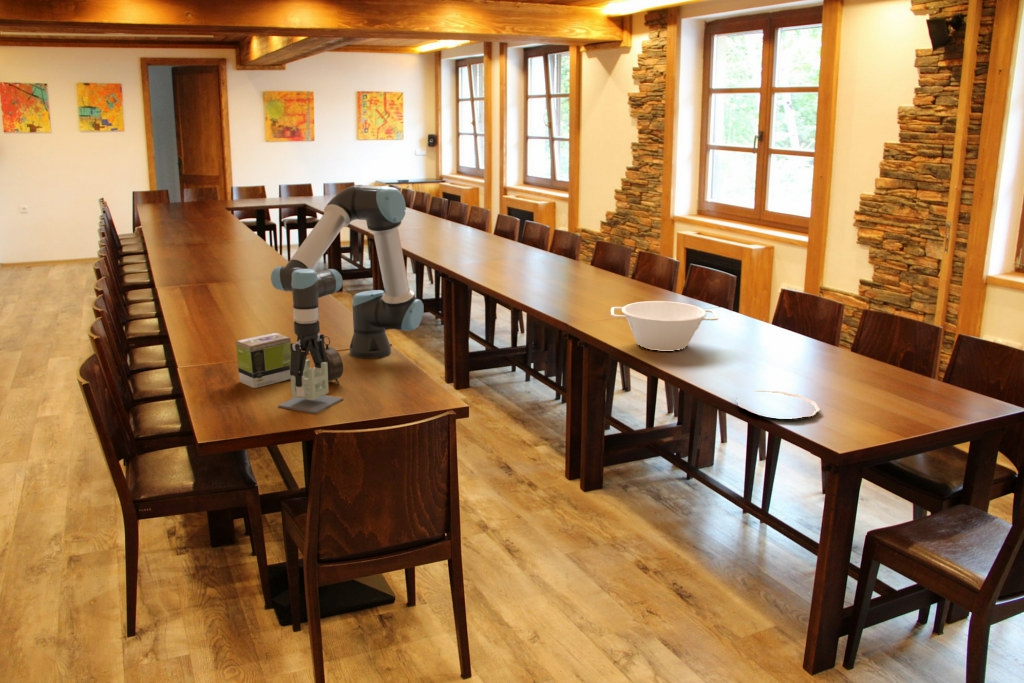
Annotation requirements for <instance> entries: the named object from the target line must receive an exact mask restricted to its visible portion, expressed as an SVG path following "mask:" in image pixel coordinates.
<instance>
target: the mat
mask: <svg viewBox="0 0 1024 683" xmlns="http://www.w3.org/2000/svg"><path fill="white" fill-rule="evenodd" d="M342 401H344V399H343V397H339V396H334V395H333V396H332V395H327V394H325V395H323V396H321V397H319V398H317V399H315V400H309V399H303V398H298V397H291V399H289V400H286V401H284V402H282V403H280V404H278V406H277V407H278V408H281V409H286V410H287V409H288V410H292V411H293V410H294V411H296V412H297V411H298V412H303V413H307V414H308V413H309V414H314V415H317V414H319V413H320V412H321V413H322V412H323V411H325V410H326V409H328V408H330V407H332V406H334V405H336V404H338V403H340V402H342Z"/></svg>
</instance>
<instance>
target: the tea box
mask: <svg viewBox="0 0 1024 683" xmlns="http://www.w3.org/2000/svg"><path fill="white" fill-rule="evenodd" d="M291 341H292V340H291V337H288V336H287V335H283V334H280V333H278V332H275V331H274V332H272V333H271V332H270V333H266V334H262V335H261V334H260V335H257V336H250V337H246V338H242V339H239V340H235V346H236V347H235V349H236V357H237V368H238V377H239V378H238V379H239V382H240V383H241V384H244V385H246V386H248V387H250V388H252V389H256V388H261V387H264V386H267V385H268V386H269V385H272V384H277V383H280V382H285V381H288V380H291V375H290V365H291V347H290V344H291V343H292V342H291Z"/></svg>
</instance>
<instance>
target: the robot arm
mask: <svg viewBox="0 0 1024 683" xmlns="http://www.w3.org/2000/svg"><path fill="white" fill-rule="evenodd" d="M406 210H407V206H406V200H405V197H404V195H403V193H402V192H401V191H400V190H399V189H398V188H396V187H393V186H387V185H364V184H354V185H351V186H348V187H346V188H344V189H342V190H341V191H340V192H338V193H337V194H336V195H334V196H333V197H332V198H330V201H329V202H328V203H327V204H326V206H325V207H324V209H323V215H322V216H321V218H320V219H319V221H317V222H316V224H315V226H314V227H313V228H312V230H311V231H310V232H309V234H308V235H307V236H306V238H305V239H304V240H303V242H302V243H301V244H300V246H299V247H298V248H297V250H296V251H295V253H294V254H293V255H292V256H291V258H290V259H289V261H288V262H287V263H286V265H281V266H279V265H278V266H276V267H274V269H273V270H272V271H271V274H270V282H271V285H272V286H273V288H274V289H275V290H279V291H283V292H292V295H291V296H292V303H293V304H292V308H293V309H292V310H293V320H294V323H293V330H294V334H295V335H296V336H297V338H296V342H295V343H293V342H291V344H290V347H291V365H290V375H291V376H295V380H296V387H297V396H301V397H305V396H306V391H305V376H303V371H304V367H305V362H306V359H307V357H308V355H309V354H310V356H311V358H312V361H313V365H314V367H313V368H314V370H315V371H316V372H321V363H322V362H327V359H326V353H325V348H326V345H325V344H324V342H325V338H324V337H325V335H324V334H321V333H320V331H321V330H320V321H319V319H320V308H319V299H320V298H323V297H325V296H329V295H333V294H335V293H336V292H338V291H340V290H341V289H342V287H343V284H344V282H343V277H342V275H341V273H340V272H339V271H338V270H337V269H335V268H329V269H327V268H326V269H324V270H318V269H317V270H316V269H315V267H316V265H318V263H319V262H320V260H321V258H322V257H323V256H324V254H325V253H326V252H327V250H328V249H329V248H330V246H331V245H332V243H333V242H334V241H335V239H336V238H337V236H338V235H339V233H341V231H342V229H343V228H346V227H348V226H349V225H350V223H351V222H352V221H355V220H356V221H357V220H359V221H360V220H361V221H366V225H367V226H366V227H367V229H368V230H369V231H370V232H372V234H373V237H374V244H375V248H376V254H377V258H378V259H377V260H378V262H379V263H378V265H379V269H380V274H381V279H382V283H383V284H382V285H383V288H384V290H382V289H377V290H376V289H373V290H365V291H360V292H358V293H356V294H354V295H353V297H352V303H351V304H352V306H351V307H352V321H353V322H352V324H353V333H352V337H351V341H350V345H349V356H352V357H353V358H361V359H376V358H384V357H385V356H389V355H390V354H391V353H392V348H391V347H392V346H391V344H390V341H389V338H388V335H387V332H386V329H389V330H391V329H392V330H399V331H403V332H404V331H405V332H406V331H407V332H412V331H414V330H416V329H418V328H419V326H420V324H421V322H422V319H423V316H424V311H425V310H424V309H425V308H424V303H423V301H422V300H421V299H419V298H416V295H415V291H414V290H413V289H412V288H410V287H409V286H410V285H409V283H408V281H409V280H408V275H407V274H408V273H407V269H406V265H405V260H404V254H403V253H404V252H403V247H402V244H401V238H400V231H399V227H400V226H401V224H402V221H403V219H404V218H405V216H406ZM322 359H323V360H322ZM315 366H316V367H315ZM315 385H319V386H322V381H321V382H319V383H317V384H315Z"/></svg>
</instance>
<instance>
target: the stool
mask: <svg viewBox="0 0 1024 683" xmlns="http://www.w3.org/2000/svg"><path fill="white" fill-rule="evenodd" d="M303 376H305V391H306V396H305V397H301V396H297V387H296V380H295V376H291V379H290V388H291V389H290V390H291V391H290V392H291V398H294V397H298V398H303V399H309V400H315V399H317V398H319V397H321V396H323V395H327V394H329V390H330V389H329V381H328V366H327V362H322V363H321V372H316V371H315V370H314V367H311V359H307V358H306V362H305V367H304V371H303ZM321 381H322V386H319V385H315V384H317V383H319V382H321Z"/></svg>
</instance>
